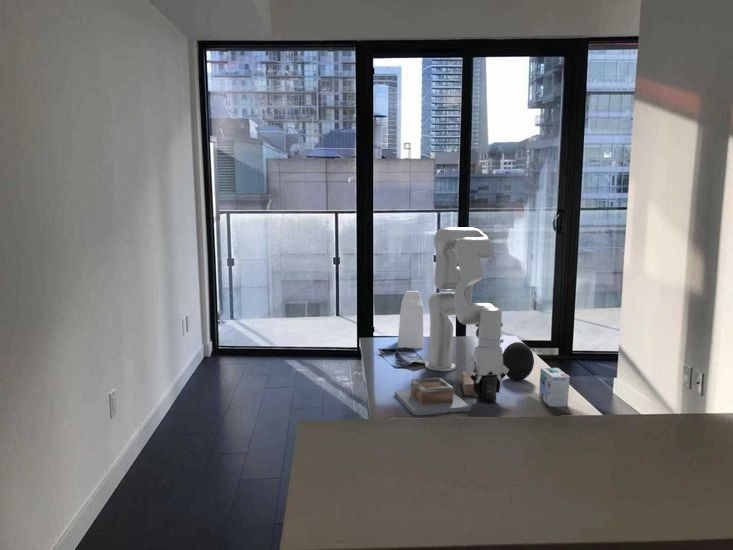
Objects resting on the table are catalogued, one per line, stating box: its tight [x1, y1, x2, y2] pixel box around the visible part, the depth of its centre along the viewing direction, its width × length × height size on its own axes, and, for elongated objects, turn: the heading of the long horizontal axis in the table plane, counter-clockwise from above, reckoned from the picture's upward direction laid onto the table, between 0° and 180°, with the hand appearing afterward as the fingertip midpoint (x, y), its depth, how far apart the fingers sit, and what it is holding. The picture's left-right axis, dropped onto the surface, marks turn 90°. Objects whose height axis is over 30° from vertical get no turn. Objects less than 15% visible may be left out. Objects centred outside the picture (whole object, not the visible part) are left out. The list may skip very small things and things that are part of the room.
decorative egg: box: [502, 341, 535, 381], centre depth 235 cm, size 12×12×15 cm
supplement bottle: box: [476, 371, 497, 404], centre depth 210 cm, size 7×7×12 cm
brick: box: [460, 370, 477, 396], centre depth 224 cm, size 17×8×5 cm, turn 174°
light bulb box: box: [538, 367, 571, 407], centre depth 211 cm, size 11×7×11 cm, turn 5°
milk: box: [397, 290, 424, 349], centre depth 285 cm, size 12×12×26 cm
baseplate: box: [394, 389, 472, 416], centre depth 207 cm, size 20×20×2 cm
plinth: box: [410, 377, 454, 405], centre depth 207 cm, size 11×11×6 cm
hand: (486, 391), depth 211 cm, fingers closed on supplement bottle, 6 cm apart
